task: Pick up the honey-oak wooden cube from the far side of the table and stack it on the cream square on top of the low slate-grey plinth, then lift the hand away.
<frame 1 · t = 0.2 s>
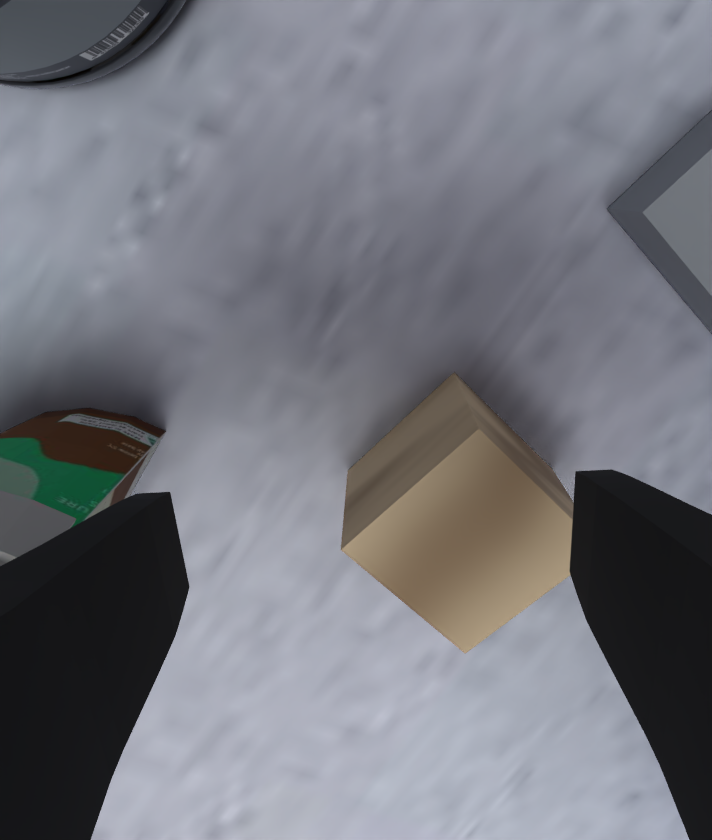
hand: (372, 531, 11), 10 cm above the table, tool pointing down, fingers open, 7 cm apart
oak cube: (449, 469, 21), on the table
food container: (35, 487, 22), on the table
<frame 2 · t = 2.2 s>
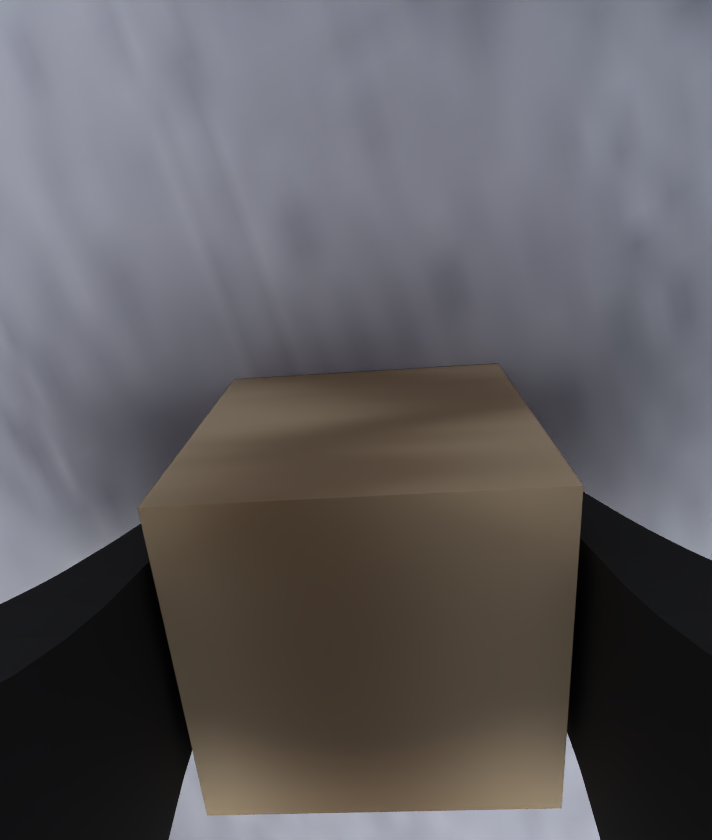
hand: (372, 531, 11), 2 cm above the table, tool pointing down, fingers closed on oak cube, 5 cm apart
oak cube: (372, 489, 12), on the table, touching gripper
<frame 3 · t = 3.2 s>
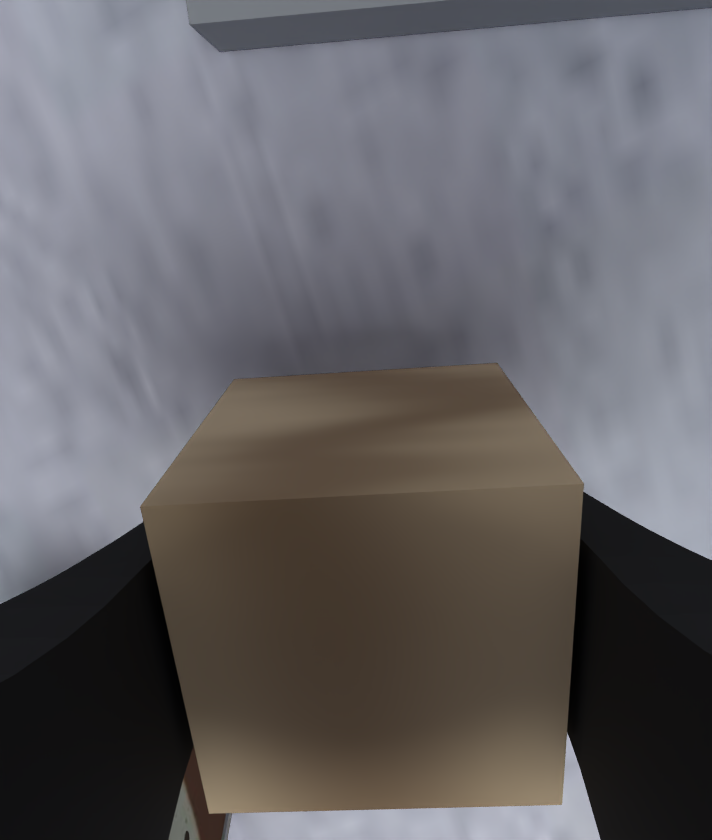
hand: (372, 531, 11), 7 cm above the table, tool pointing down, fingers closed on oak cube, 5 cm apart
oak cube: (372, 488, 12), point 5 cm above the table, touching gripper
food container: (114, 704, 22), on the table
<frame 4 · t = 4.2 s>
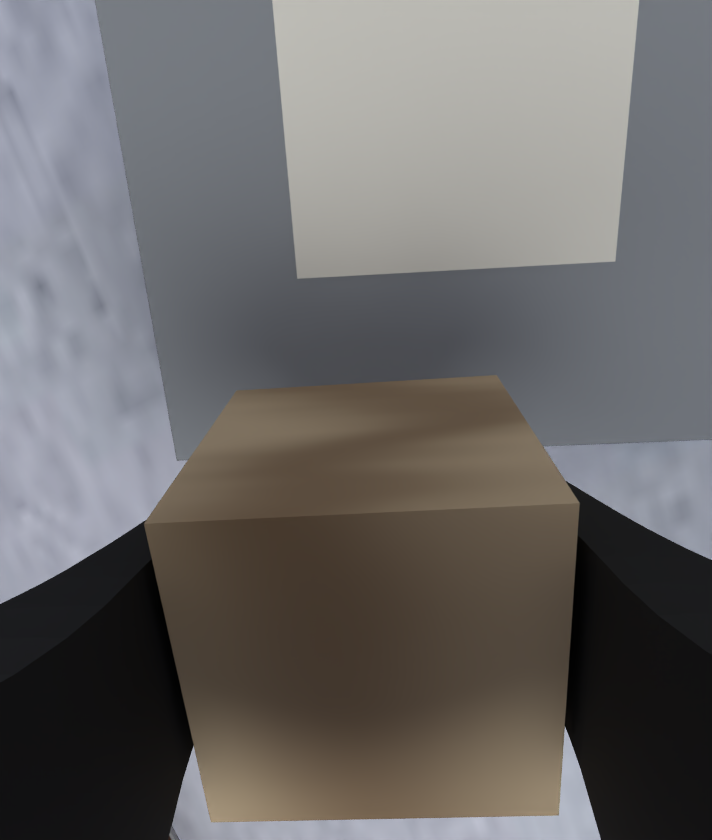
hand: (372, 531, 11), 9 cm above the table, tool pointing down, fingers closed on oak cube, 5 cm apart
plinth: (442, 107, 16), on the table
oak cube: (373, 498, 12), point 7 cm above the table, touching gripper
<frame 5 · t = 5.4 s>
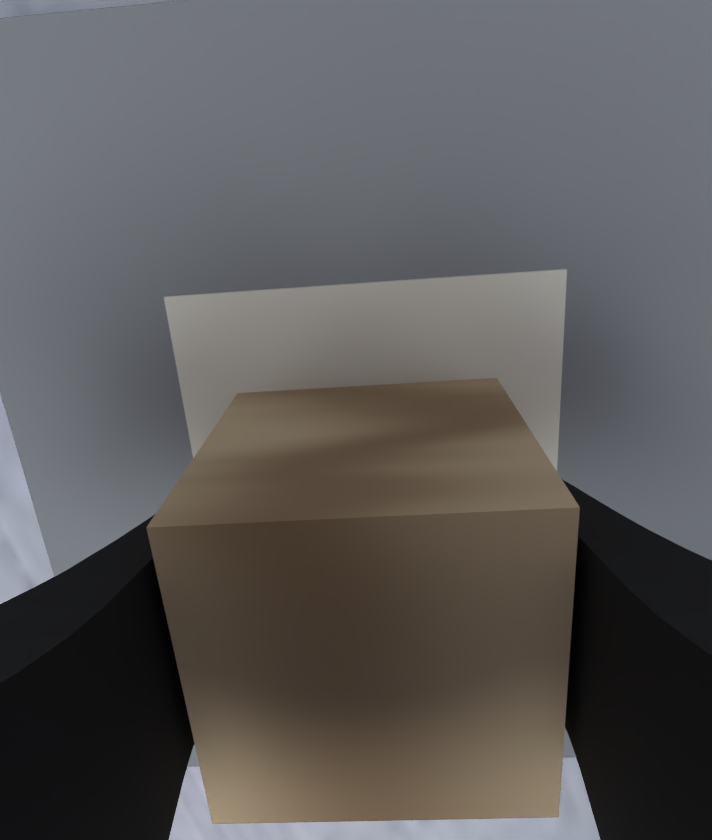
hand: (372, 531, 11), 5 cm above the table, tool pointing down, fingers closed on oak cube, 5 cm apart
plinth: (374, 424, 16), on the table
oak cube: (373, 500, 12), point 4 cm above the table, touching gripper
when the fingers open (5 cm above the table, at t = 6.3 s): oak cube stays where it is, resting on plinth.
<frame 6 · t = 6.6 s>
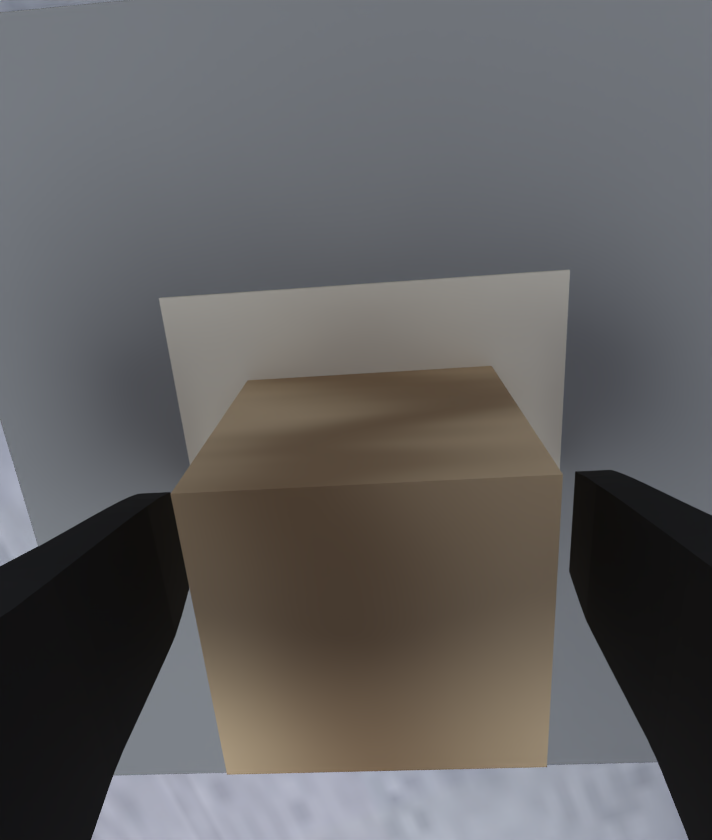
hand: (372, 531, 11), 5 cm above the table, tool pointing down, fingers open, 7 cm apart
plinth: (373, 426, 16), on the table
oak cube: (375, 482, 13), point 3 cm above the table, touching plinth
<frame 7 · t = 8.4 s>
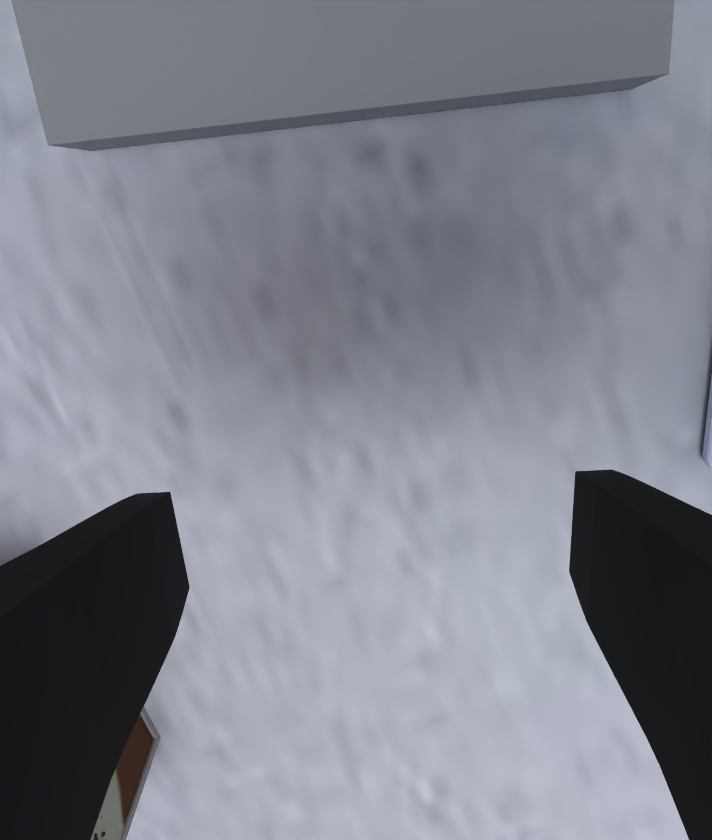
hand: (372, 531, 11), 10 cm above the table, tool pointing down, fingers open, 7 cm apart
food container: (54, 668, 26), on the table
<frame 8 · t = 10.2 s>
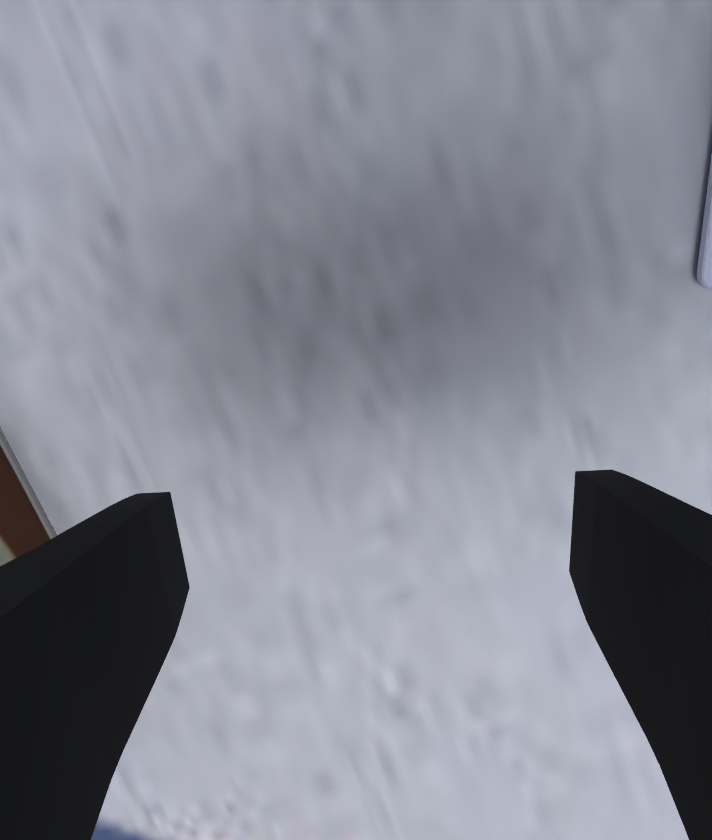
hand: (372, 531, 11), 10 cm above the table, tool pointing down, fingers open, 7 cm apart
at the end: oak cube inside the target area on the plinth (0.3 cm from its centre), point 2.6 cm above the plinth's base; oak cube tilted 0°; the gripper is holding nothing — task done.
